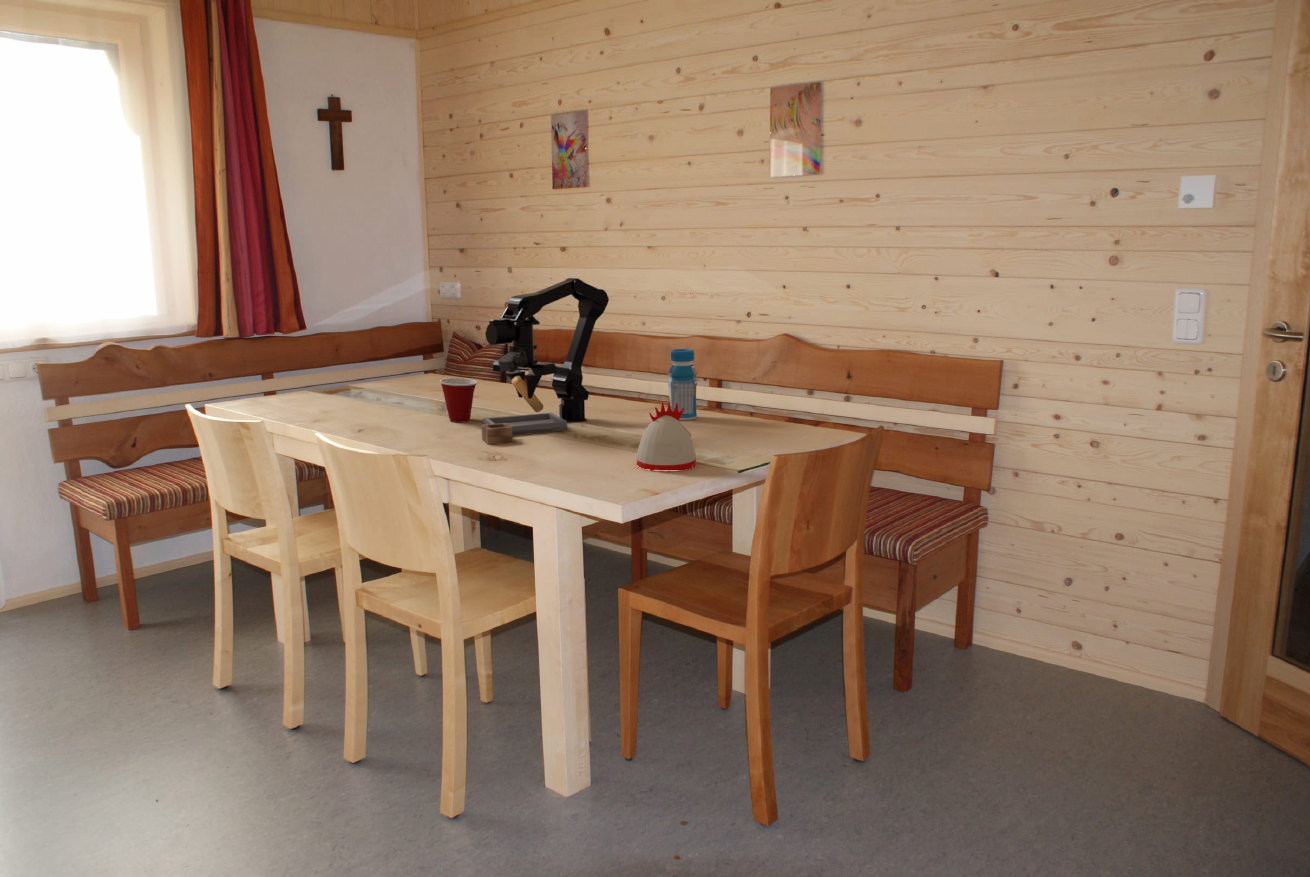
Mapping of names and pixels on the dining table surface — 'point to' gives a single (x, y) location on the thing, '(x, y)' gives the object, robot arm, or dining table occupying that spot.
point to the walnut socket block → (497, 433)
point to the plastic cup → (458, 397)
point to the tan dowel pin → (522, 389)
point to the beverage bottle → (683, 383)
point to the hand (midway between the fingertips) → (525, 397)
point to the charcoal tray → (530, 423)
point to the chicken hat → (666, 443)
